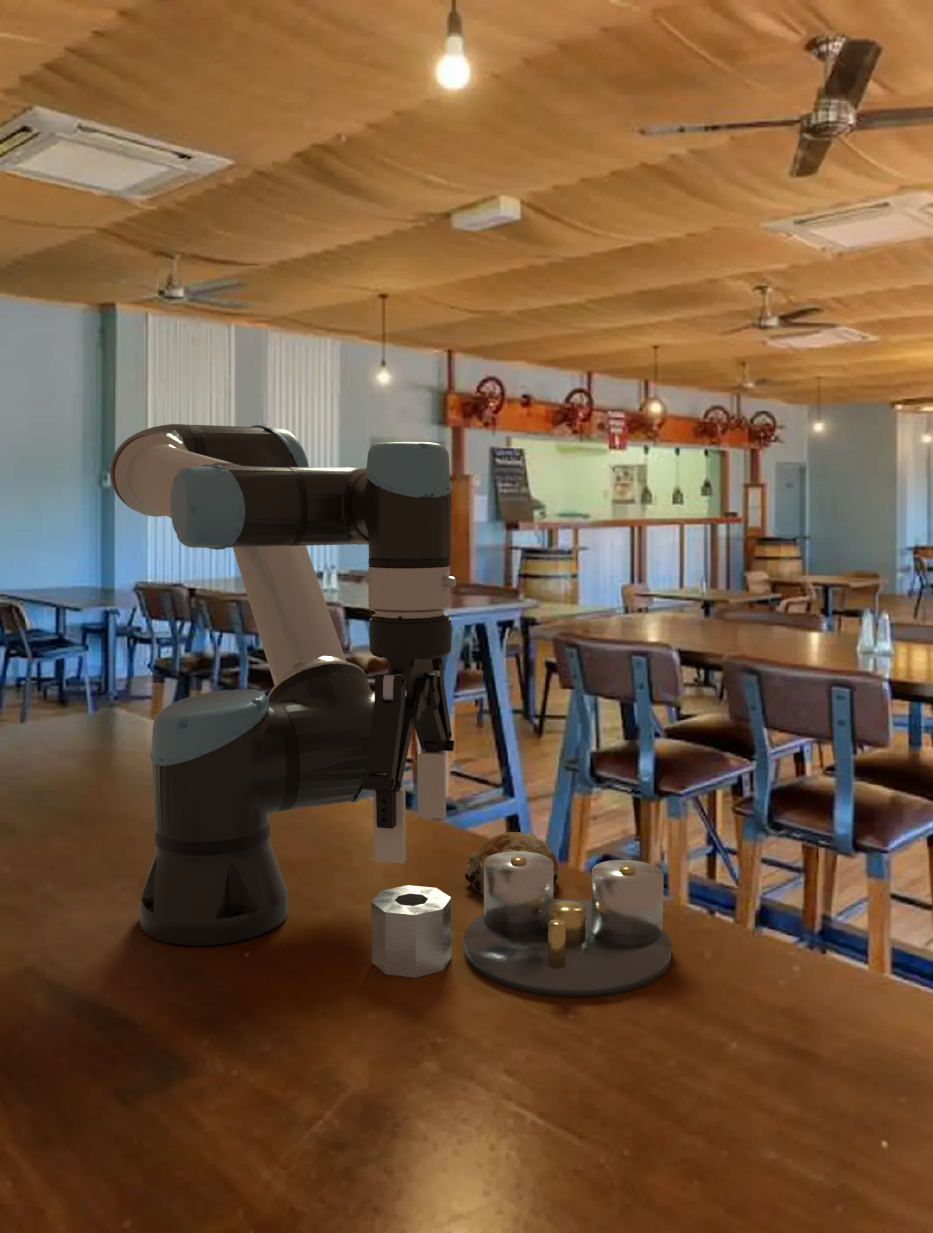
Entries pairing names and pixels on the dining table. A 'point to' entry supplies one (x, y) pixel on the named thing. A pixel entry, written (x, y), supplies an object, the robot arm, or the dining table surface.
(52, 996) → the dining table surface
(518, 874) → the carrier
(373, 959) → the octagonal metal nut
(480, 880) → the bread roll
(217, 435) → the robot arm
